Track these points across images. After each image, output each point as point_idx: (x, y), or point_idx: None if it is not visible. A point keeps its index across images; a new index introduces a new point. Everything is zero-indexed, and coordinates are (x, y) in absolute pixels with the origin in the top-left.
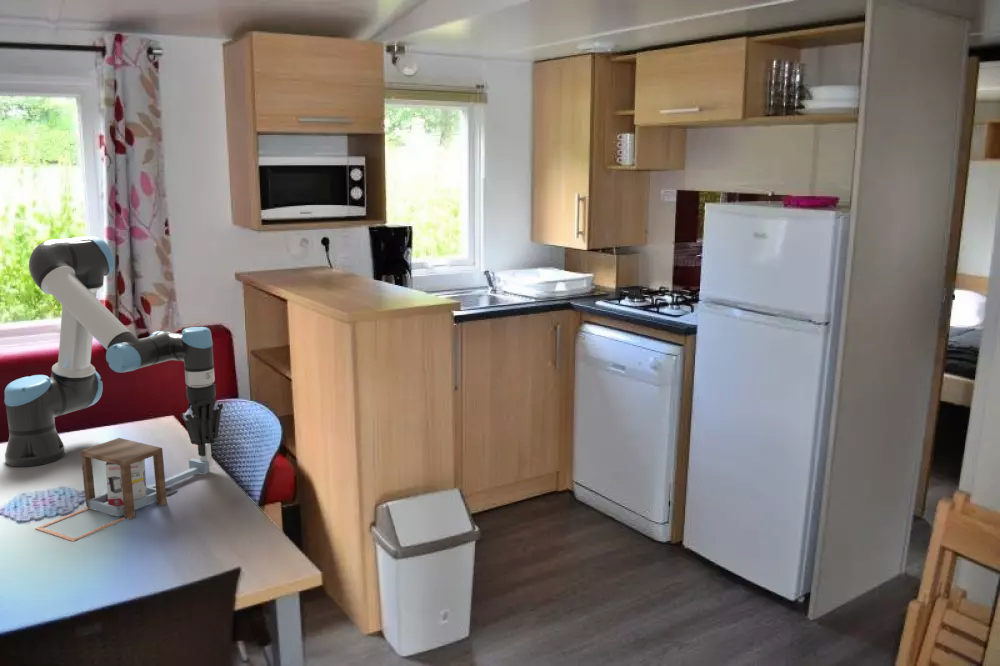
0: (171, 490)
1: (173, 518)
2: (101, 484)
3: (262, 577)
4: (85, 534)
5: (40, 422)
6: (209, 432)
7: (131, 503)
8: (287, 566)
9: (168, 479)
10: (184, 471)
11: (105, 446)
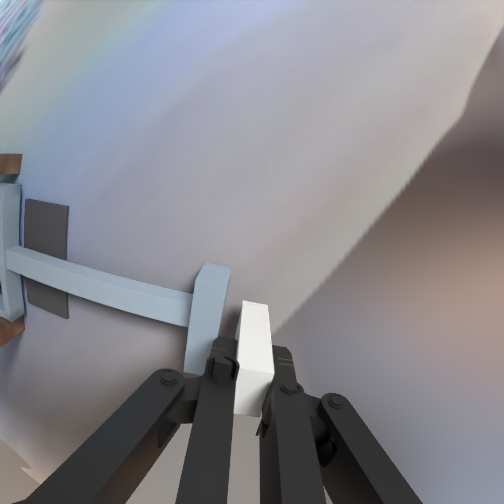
0: (60, 300)
1: (10, 372)
2: (54, 46)
3: (34, 475)
4: None
5: None
6: (262, 471)
7: None
8: None
9: (59, 282)
10: (134, 293)
11: None
